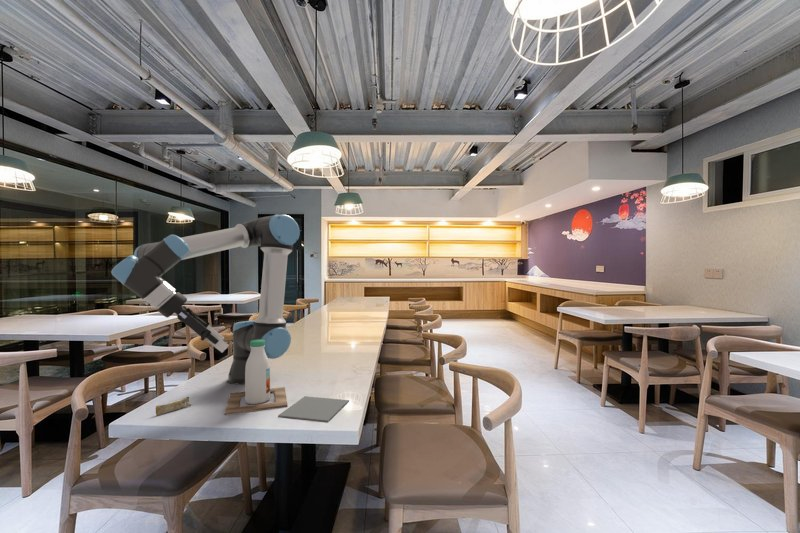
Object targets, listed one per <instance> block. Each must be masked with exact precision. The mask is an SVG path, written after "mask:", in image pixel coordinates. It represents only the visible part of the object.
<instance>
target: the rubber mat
mask: <svg viewBox="0 0 800 533" xmlns="http://www.w3.org/2000/svg"><path fill="white" fill-rule="evenodd" d="M349 402H350V400H349V399H339V398H329V397H318V396H307V395H305V396H303V397H301V398H300V399H299V400H297V401H296V402H294V403H293V404H292V405H291V406H289V407H288V408H287V409H285V410H284V411H282V412H281V413H280V414H278V415H277V416H278V418H280V417H281V418H288V419H298V420H305V421H306V420H307V421H313V422H314V421H316V422H325V423H329V422H330V420H332V419H333V418H334V417H335V416H336V415H337V414H338V413H339V412H340V411H341V410H342V409H343V408H344V407H345V406H346V405H347V404H348V403H349Z"/></svg>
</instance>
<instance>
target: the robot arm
mask: <svg viewBox="0 0 800 533" xmlns="http://www.w3.org/2000/svg"><path fill="white" fill-rule="evenodd" d="M300 232H301V231H300V226H299V224H298V222H297V221H296V220H295V219H294V218H293V217H291V216H290V215H287V214H279V213H278V214H274V215H269V216H263V217H258V218H255V219H252V220H249V221H246V222H243V223H237V224H236V225H235V226H234V227H230V228H224V229H219V230H214V231H208V232H203V233H199V234H197V233H196V234H193V235H188V236H184V237H180V236H178V235H176V234H169V235H168V236H165V237H164V238H163V239H162V240H161V241H155V242H150V243H148V242H147V243H143V244H141V245H139V246H137V247H136V248H135V249H134V252H133V254H131V255H128V256H127V257H126V258H124V259H122V260H121V261H120V262H118V263H117V264H116V265H115V266H114V267H113V268H112V269H111V271H110V272H111V275H112V276H113V277H114V278H115V279H116V280H117V281H118V282H120V283H121V285H123V286H124V287H126V288H127V289H128V290H130V292H132V293H134V294H135V295H137V296H138V297H140V299H141V300H143V301H144V304H145V306H149V305H150V306H151V307H152V308H154V309H156V308H157V312H158V313H160V314H161V315H162V316H163V317H165V318H170V317H171V316H172V315H173V314H176V317H177V319H178V321H180V322H182V323H184V324H185V326H187V327H189V328H190V329H191V330H192V331H194V332H195V333H196V334H197V335H199V337H200V341H204V340H205V341H206V342H207V343H208V344H211V345H212V347H214V348H215V349H216V350H218V352H220V353H224V352H225V351H226V350H227V348H229V347H230V345H229V344H228V343H226V341H224V340H225V337H224V336H223V335H222V334H220V333H219V332H218V331H217V330H215V329H214V328H213V327H212V326H210V322H209V321H205V320H203V319H202V318H200V317H199V316H198V315H197V314H196V313H195V312H194V311H193V310H192V309H191V308H190V307H188V308H187V307H186V306H185V303H186V302H187V301H188V298H187V297H186V296H185V295H184V294H182V293H181V292H180V291H177V289H176V288H175V287H173V285H171V284H170V283H169V282H168V281H166V280H165V279H164V278H162V276H163V275H165V274H166V273H167V272H168V271H170V269H172V268H173V267H174V266H176V265H177V264H178V263H179V262H180V261H183V260H187V259H192V258H197V257H201V256H205V255H209V254H214V253H217V252H218V253H219V252H222V251H226V250H231V249H235V248H239V247H240V248H243V249H247V248H251V247H260V248H259V249H260V250H261V251H262V252H263V263H262V265H263V266H262V276H261V285H260V288H261V289H260V296H259V307H258V308H259V309H258V316H257V317H256V318H255V319H253V320H246V321H244V320H243V321H238V322H235V323H234V324H233V327H232V363H231V366H230V369H229V373H228V374H227V376H228V377H227V381H228V382H229V383H230V384H233V385H234V384H235V385H245V367H246V362H247V360H248V357H249V355H250V352H251V348H250V341H252V340H259V339H261V340H265V347H264V350H265V353H266V356H267V358H268V359H269V360H270V359H271V360H273V359H279V358H281V357H282V356H284V354H285V353H286V352H287V351H288V350H289V349H290V346H291V340H292V336H291V333H290V332H289V330H288V329H286V328H287V321H286V319H285V318H284V317H283V316H284V306H285V305H284V304H285V294H286V291H285V290H286V281H287V267H288V256H289V255H290V254H291V253H293V247H294V246H293V245H294V244H296V242H297V241H298V240H299V238H300V235H301V234H300ZM176 291H177V292H176Z"/></svg>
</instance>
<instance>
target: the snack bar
mask: <svg viewBox="0 0 800 533" xmlns="http://www.w3.org/2000/svg"><path fill="white" fill-rule="evenodd" d="M190 403H191V402H190V397H189V396H187V397H184V398H181V399H179V400H174V401H171V402H170V401H169V402H167V403H162V404H160V405H159V404H158V405H156V406H155V416H156V417H157V416H161V415H165V414H166V413H170V412H173V411H177V410H181V409H186V408H189V407H190V406H191V404H190Z"/></svg>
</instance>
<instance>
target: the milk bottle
mask: <svg viewBox="0 0 800 533" xmlns="http://www.w3.org/2000/svg"><path fill="white" fill-rule="evenodd" d="M264 347H265V340H261V339H259V340H252V341H250V348H251V352H250V355H249V357H248V360H247V362H246V367H245V384H244V391H245V397H244V402H245V403H246V404H249V405H258V404H265V403H267V402H268V401H269V400H270V398H271V393H270V388H271V368H270V367H271V364H270V359H269V358H267V356H266V353H265V350H264Z"/></svg>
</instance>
